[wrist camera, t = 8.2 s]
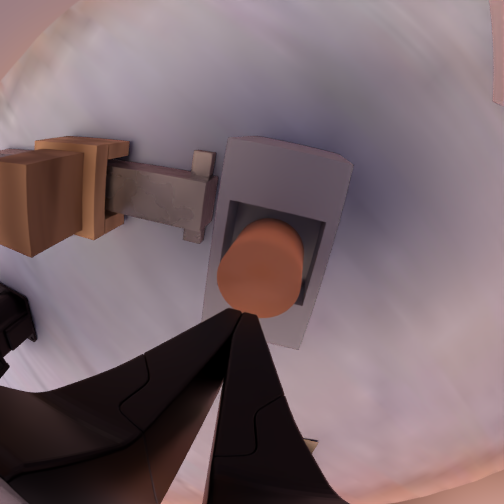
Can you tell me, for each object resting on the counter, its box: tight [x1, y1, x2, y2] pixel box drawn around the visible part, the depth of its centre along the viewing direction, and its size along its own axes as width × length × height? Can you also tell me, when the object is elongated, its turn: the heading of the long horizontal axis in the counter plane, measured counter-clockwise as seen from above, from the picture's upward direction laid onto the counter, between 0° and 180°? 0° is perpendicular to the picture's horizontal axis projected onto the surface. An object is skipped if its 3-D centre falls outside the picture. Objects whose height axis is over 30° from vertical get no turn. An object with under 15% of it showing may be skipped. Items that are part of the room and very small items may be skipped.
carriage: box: [0, 136, 130, 258], centre depth 17 cm, size 6×6×8 cm
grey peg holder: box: [201, 136, 354, 350], centre depth 16 cm, size 5×9×7 cm, turn 170°
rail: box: [0, 149, 218, 244], centre depth 20 cm, size 22×6×2 cm, turn 80°
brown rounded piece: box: [217, 218, 304, 318], centre depth 12 cm, size 3×3×3 cm
